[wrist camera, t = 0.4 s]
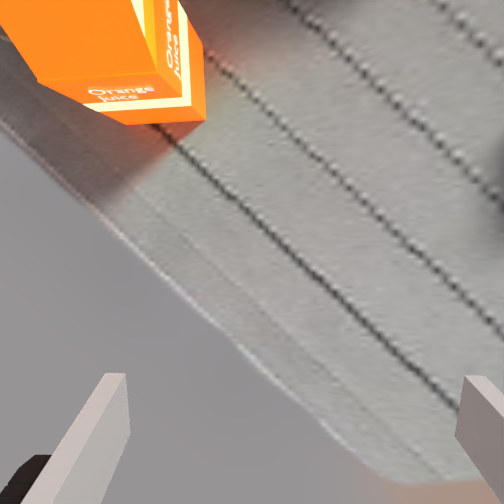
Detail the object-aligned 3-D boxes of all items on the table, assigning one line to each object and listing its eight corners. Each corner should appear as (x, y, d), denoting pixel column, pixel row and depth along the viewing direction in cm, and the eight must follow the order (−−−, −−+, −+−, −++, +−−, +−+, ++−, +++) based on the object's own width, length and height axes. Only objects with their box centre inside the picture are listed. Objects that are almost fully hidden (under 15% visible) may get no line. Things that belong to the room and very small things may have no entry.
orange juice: (206, 121, 41) (124, 41, 21) (125, 126, 42) (-27, 54, 22) (203, 42, 40) (113, -118, 20) (119, 48, 41) (-43, -98, 21)
